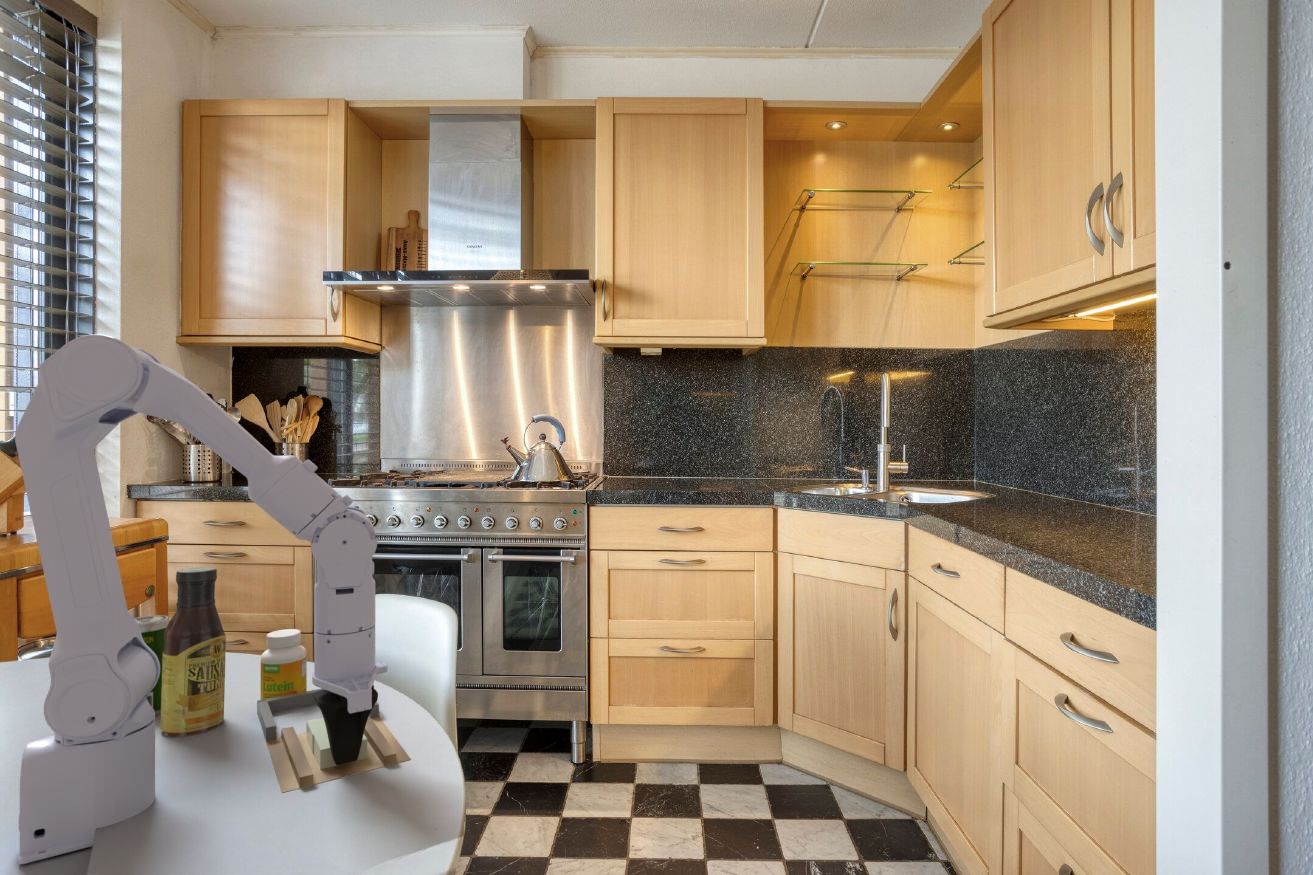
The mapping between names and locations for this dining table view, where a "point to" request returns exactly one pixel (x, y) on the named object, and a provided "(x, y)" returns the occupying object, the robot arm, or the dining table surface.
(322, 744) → the tile near
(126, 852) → the dining table surface
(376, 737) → the board
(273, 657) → the supplement bottle
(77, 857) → the dining table surface
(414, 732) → the dining table surface
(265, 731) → the box
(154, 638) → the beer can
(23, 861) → the robot arm
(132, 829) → the dining table surface
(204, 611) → the sauce bottle
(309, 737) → the tile far
